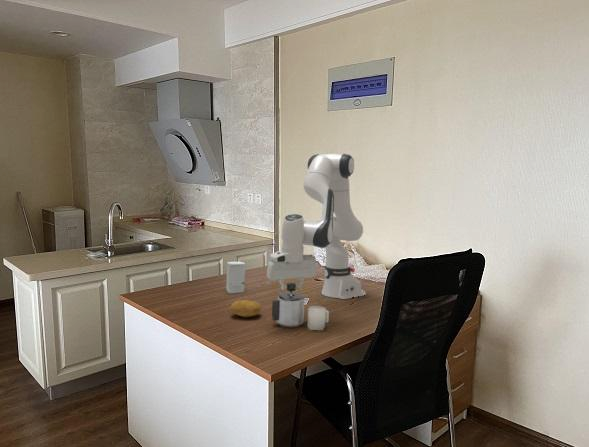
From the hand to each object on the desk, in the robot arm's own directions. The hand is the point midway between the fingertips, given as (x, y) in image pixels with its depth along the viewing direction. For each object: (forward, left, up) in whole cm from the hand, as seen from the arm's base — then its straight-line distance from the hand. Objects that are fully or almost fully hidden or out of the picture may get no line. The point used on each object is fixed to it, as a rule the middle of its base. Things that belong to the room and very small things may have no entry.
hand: (291, 289), depth 177 cm
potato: (+15, -13, -15) cm, 25 cm away
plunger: (0, 0, -13) cm, 13 cm away
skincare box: (+10, -49, -14) cm, 52 cm away
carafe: (+1, 0, -14) cm, 14 cm away
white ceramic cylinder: (-8, +8, -14) cm, 18 cm away
